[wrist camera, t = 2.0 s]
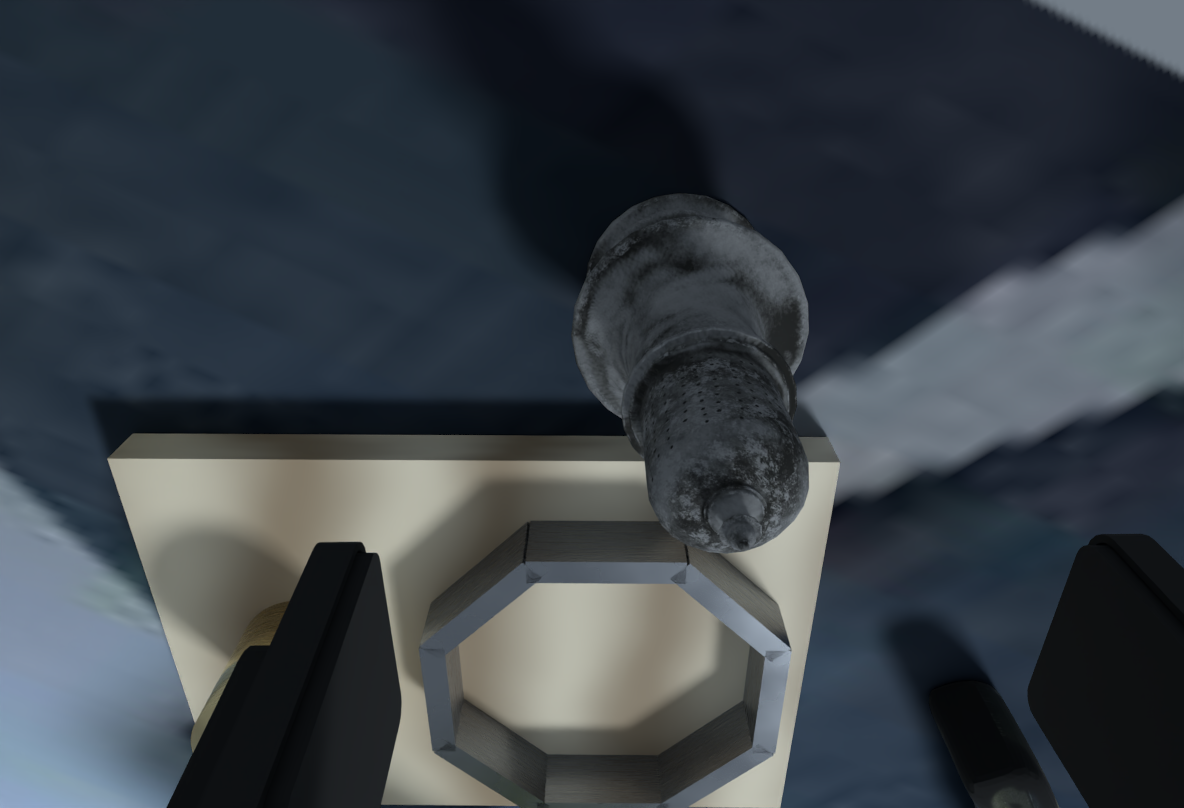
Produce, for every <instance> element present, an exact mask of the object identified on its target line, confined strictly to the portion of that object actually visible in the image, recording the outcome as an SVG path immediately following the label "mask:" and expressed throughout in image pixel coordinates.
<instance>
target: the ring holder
mask: <svg viewBox="0 0 1184 808" xmlns="http://www.w3.org/2000/svg"><path fill="white" fill-rule="evenodd" d="M535 583H598V584H677V585H678V586H679V587H680V588H682V589H683V590H684V591H685V592H686V593H688V594H689V595H690V596H691V597H692V598H694V599H695V600H696V601H697V602H699V603H700V604H701V605H702V606H703V607H705V608H706V609H707V610H708V611H709V612H711V613H712V614H713V615H714V616H715V617H717V618H718V619H719V620H720V621H722V622H723V623H724V624H725V625H726V626H728V627H729V628H730V629H731V630H732V631H734V632H735V633H736V634H737V635H739V636H740V637H741V638H742V639H743V640H745V641H746V642H747V643H748V644H749V645H750V649H749V657H748V664H747V672H746V680H745V688H744V696H743V701H741V702H740V703H738V704H737V705H735V706H733V707H732V708H730V709H729V710H727V711H726V712H724V713H723V714H721V715H719V716H718V717H716V718H715V719H713V720H712V721H710V722H709V723H707V724H705V725H704V726H702V727H701V728H699V729H698V730H696V731H695V732H693V733H691V734H690V735H688V736H687V737H685V738H684V739H682V740H681V741H679V742H677V743H676V744H674V745H673V746H671V747H670V748H668V749H667V750H665V751H663V752H662V753H660V754H659V755H565V754H546V753H545V752H543V751H542V750H540V749H539V748H537V747H536V746H534V745H533V744H531V743H530V742H528V741H527V740H525V739H524V738H522V737H521V736H519V735H518V734H516V733H515V732H513V731H512V730H510V729H509V728H507V727H506V726H504V725H503V724H501V723H500V722H498V721H497V720H495V719H494V718H492V717H491V716H489V715H488V714H486V713H485V712H483V711H482V710H480V709H479V708H477V707H476V706H474V705H473V704H471V703H470V702H468V701H467V700H466V699H464V693H463V683H462V673H461V663H460V654H459V644H460V643H461V642H463V641H464V640H465V639H466V638H468V637H469V636H470V635H471V634H473V633H474V632H475V631H476V630H478V629H479V628H480V627H481V626H483V625H484V624H485V623H486V622H488V621H489V620H490V619H491V618H493V617H494V616H495V615H496V614H498V613H499V612H500V611H501V610H503V609H504V608H505V607H507V606H508V605H509V604H510V603H512V602H513V601H514V600H515V599H517V598H518V597H519V596H520V595H522V594H523V593H524V592H525V591H527V590H528V589H529V588H530V587H532V586H533V585H534V584H535ZM791 653H792V650H791V646H790V643H789V639H788V636H787V632H786V629H785V626H784V622H783V619H782V615H781V612H780V608H779V605H778V604H777V603H776V602H775V601H774V600H773V599H771V598H770V597H769V596H768V595H767V594H766V593H765V592H763V591H762V590H761V589H760V588H759V587H758V586H756V585H755V584H754V583H753V582H752V581H751V580H750V579H748V578H747V577H746V576H745V575H744V574H743V573H741V572H740V571H739V570H738V569H737V568H736V567H735V566H733V565H732V564H731V563H730V562H729V561H728V560H726V559H725V558H724V557H723V556H722V555H721V554H720V553H714V552H707V551H704V550H700V549H697V548H694V547H691V546H688V545H686V544H684V543H682V542H681V541H679V540H677V539H676V538H674V537H673V536H671V535H670V534H669V532H668V531H667V530H666V529H665V528H664V527H663V526H662V525H661V524H660V522H659V521H530V523H529V522H526V523H525V524H524V525H523V526H522V527H520V528H519V529H518V530H517V531H516V532H515V533H513V534H512V535H511V536H510V537H509V538H507V539H506V540H505V541H504V542H503V543H501V544H500V545H499V546H498V547H497V548H495V549H494V550H493V551H492V552H491V553H489V554H488V555H487V556H486V557H485V558H483V559H482V560H481V561H480V562H479V563H478V564H476V565H475V566H474V567H473V568H472V569H470V570H469V571H468V572H467V573H466V574H464V575H463V576H462V577H461V578H460V579H458V580H457V581H456V582H455V583H454V584H452V585H451V586H450V587H449V588H448V589H446V590H445V591H444V592H443V593H442V594H441V595H439V596H438V597H437V598H436V599H435V600H433V601H432V602H431V604H430V608H429V612H428V615H427V619H426V623H425V627H424V630H423V634H422V638H421V642H420V646H419V655H420V662H421V670H422V677H423V684H424V692H425V699H426V707H427V714H428V722H429V729H430V737H431V744H432V751H434V753H435V754H436V755H438V756H439V757H441V758H443V759H444V760H446V761H447V762H449V763H451V764H452V765H454V766H455V767H457V768H459V769H460V770H462V771H463V772H465V773H467V774H468V775H470V776H471V777H473V778H474V779H476V780H478V781H479V782H481V783H482V784H484V785H486V786H487V787H489V788H490V789H492V790H494V791H495V792H497V793H498V794H500V795H502V796H503V797H505V798H506V799H508V800H509V801H511V802H513V803H514V804H516V805H517V806H519V807H521V808H687V807H689V806H691V805H692V804H694V803H696V802H697V801H699V800H701V799H702V798H704V797H706V796H707V795H709V794H710V793H712V792H714V791H715V790H717V789H719V788H720V787H722V786H724V785H725V784H727V783H729V782H730V781H732V780H734V779H735V778H737V777H739V776H740V775H742V774H744V773H745V772H747V771H749V770H750V769H752V768H754V767H755V766H757V765H759V764H760V763H762V762H764V761H765V760H767V759H768V758H770V757H772V756H773V755H774V754H773V753H775V752H776V746H777V739H778V733H779V727H780V721H781V715H782V709H783V702H784V696H785V690H786V684H787V678H788V671H789V665H790V659H791Z"/></svg>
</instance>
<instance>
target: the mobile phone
mask: <svg viewBox="0 0 1184 808" xmlns="http://www.w3.org/2000/svg"><path fill="white" fill-rule="evenodd" d="M929 706H930V709H931V713H932V715H933V718H934V720H935V722H936V724H937V726H938V728H939V730H940V733H941V735H942V737H943V739H944V741H945V743H946V746H947V748H948V750H949V752H950V755H951V757H952V759H953V762H954V764H955V766H956V769H957V771H958V773H959V775H960V777H961V780H962V782H963V784H964V786H965V788H966V790H967V791H968V793H969V795H970V797H971V798H972V800H973V802H974V804H975V808H1059V806H1058V803H1057V801H1056V799H1055V796H1054V794H1053V792H1052V790H1051V787H1050V785H1049V783H1048V781H1047V779H1046V776H1045V774H1044V772H1043V771H1042V769H1041V767H1040V765H1039V763H1038V761H1037V759H1036V757H1035V755H1034V754H1033V752H1032V750H1031V748H1030V746H1029V744H1028V743H1027V741H1026V739H1025V737H1024V735H1023V734H1022V732H1021V730H1020V728H1019V726H1018V725H1017V723H1016V721H1015V719H1014V718H1013V716H1012V714H1011V712H1010V711H1009V709H1008V707H1007V705H1006V704H1005V702H1004V700H1003V699H1002V697H1001V696H1000V694H999V693H998V692H997V691H996V689H995V688H993V687H992V686H990V685H988V684H985V683H982V682H978V681H961V682H955V683H951V684H947V685H944V686H941V687H938V688H936V689H934V690H932V691H931V694H930V696H929Z"/></svg>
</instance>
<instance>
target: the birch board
mask: <svg viewBox="0 0 1184 808" xmlns="http://www.w3.org/2000/svg"><path fill="white" fill-rule="evenodd" d="M799 439H800V441H801V443H802V446H803V448H804V451H805V454H806V457H807V459H808V462H809V491H808V494H807V497H806V501H805V504H804V506H803V508H802V509H801V511H800V513H799V514H798V516H797V517H796V519H795V520H794V521H793V522H792V523H791V524H790V525H789V526H788V527H787V528H786V529H785V530H784V531H783V532H782V533H781V534H779V535H778V536H777V537H776V538H774V539H772V540H770V541H769V542H767V543H765V544H764V545H762V546H759V547H756V548H753V549H750V550H747V551H744V552H736V553H728V554H726V553H720V554H721V555H722V556H723V557H724V558H725V559H726V560H728V561H729V562H730V563H731V564H732V565H733V566H735V567H736V568H737V569H738V570H739V571H740V572H741V573H743V574H744V575H745V576H746V577H747V578H748V579H750V580H751V581H752V582H753V583H754V584H755V585H756V586H758V587H759V588H760V589H761V590H762V591H763V592H765V593H766V594H767V595H768V596H769V597H770V598H771V599H773V600H774V601H775V602H776V603H777V604H778V605H779V608H780V612H781V615H782V619H783V622H784V626H785V629H786V632H787V636H788V639H789V643H790V646H791V650H792V653H791V659H790V665H789V671H788V678H787V684H786V690H785V696H784V702H783V709H782V715H781V721H780V727H779V733H778V739H777V746H776V752H775V753H773V754H774V755H773V756H772V757H770V758H768V759H767V760H765V761H764V762H762V763H760V764H759V765H757V766H755V767H754V768H752V769H750V770H749V771H747V772H745V773H744V774H742V775H740V776H739V777H737V778H735V779H734V780H732V781H730V782H729V783H727V784H725V785H724V786H722V787H720V788H719V789H717V790H715V791H714V792H712V793H710V794H709V795H707V796H706V797H704V798H702V799H701V800H699V801H697V802H696V803H694V804H692V805H691V806H689V807H757V808H780V806H781V800H782V794H783V788H784V783H785V777H786V771H787V765H788V760H789V754H790V748H791V742H792V737H793V731H794V725H795V719H796V714H797V708H798V702H799V696H800V691H801V685H802V679H803V674H804V668H805V662H806V656H807V651H808V645H809V639H810V633H811V628H812V622H813V616H814V610H815V605H816V599H817V593H818V587H819V582H820V576H821V570H822V564H823V559H824V553H825V547H826V541H827V536H828V530H829V524H830V518H831V513H832V507H833V501H834V495H835V490H836V484H837V478H838V472H839V467H840V461H839V459H838V457H837V455H836V453H835V451H834V449H833V447H832V445H831V443H830V441H829V439H828V437H799ZM107 459H108V462H109V465H110V468H111V471H112V474H113V477H114V480H115V483H116V486H117V489H118V492H119V495H120V498H121V501H122V504H123V507H124V510H125V513H126V516H127V519H128V522H129V525H130V529H131V532H132V535H133V538H134V541H135V544H136V547H137V550H138V553H139V556H140V559H141V562H142V565H143V568H144V571H145V574H146V577H147V580H148V583H149V586H150V589H151V592H152V595H153V598H154V601H155V604H156V607H157V610H158V613H159V616H160V619H161V622H162V625H163V628H164V631H165V634H166V637H167V640H168V643H169V646H170V649H171V652H172V655H173V658H174V661H175V665H176V668H177V671H178V674H179V677H180V680H181V683H182V686H183V689H184V692H185V695H186V698H187V701H188V704H189V707H190V710H191V713H192V716H193V719H194V722H195V723H196V721H197V719H198V717H199V715H200V713H201V711H202V709H203V708H204V706H205V704H206V702H207V700H208V698H209V696H210V695H211V693H212V691H213V689H214V687H215V685H216V683H217V682H218V680H219V678H220V676H221V674H222V672H223V670H224V669H225V667H226V665H227V663H228V661H229V659H230V657H231V656H232V654H233V652H234V650H235V648H236V646H237V644H238V643H239V641H240V639H241V637H242V635H243V633H244V631H245V629H246V628H247V626H248V624H249V623H250V621H251V620H252V619H253V618H254V617H255V616H256V615H257V614H259V613H260V612H261V611H263V610H265V609H266V608H268V607H271V606H273V605H275V604H279V603H282V602H287V601H290V599H291V597H292V595H293V593H294V590H295V588H296V586H297V584H298V581H299V579H300V577H301V575H302V573H303V570H304V568H305V566H306V564H307V561H308V559H309V557H310V555H311V552H312V550H313V548H314V547H315V545H316V544H317V543H319V542H362V543H363V545H364V547H365V550H366V553H378V555H379V558H380V562H381V569H382V575H383V582H384V588H385V594H386V601H387V607H388V613H389V620H390V626H391V633H392V639H393V645H394V652H395V658H396V665H397V671H398V677H399V684H400V690H401V699H402V707H401V719H400V725H399V729H398V733H397V738H396V742H395V746H394V751H393V755H392V759H391V764H390V768H389V772H388V777H387V781H386V785H385V790H384V794H383V798H382V803H381V805H481V806H517V805H516V804H514V803H513V802H511V801H509V800H508V799H506V798H505V797H503V796H502V795H500V794H498V793H497V792H495V791H494V790H492V789H490V788H489V787H487V786H486V785H484V784H482V783H481V782H479V781H478V780H476V779H474V778H473V777H471V776H470V775H468V774H467V773H465V772H463V771H462V770H460V769H459V768H457V767H455V766H454V765H452V764H451V763H449V762H447V761H446V760H444V759H443V758H441V757H439V756H438V755H436V754H435V753H434V751H432V744H431V737H430V729H429V722H428V714H427V707H426V699H425V692H424V684H423V677H422V670H421V662H420V655H419V646H420V642H421V638H422V634H423V630H424V627H425V623H426V619H427V615H428V612H429V608H430V604H431V602H432V601H433V600H435V599H436V598H437V597H438V596H439V595H441V594H442V593H443V592H444V591H445V590H446V589H448V588H449V587H450V586H451V585H452V584H454V583H455V582H456V581H457V580H458V579H460V578H461V577H462V576H463V575H464V574H466V573H467V572H468V571H469V570H470V569H472V568H473V567H474V566H475V565H476V564H478V563H479V562H480V561H481V560H482V559H483V558H485V557H486V556H487V555H488V554H489V553H491V552H492V551H493V550H494V549H495V548H497V547H498V546H499V545H500V544H501V543H503V542H504V541H505V540H506V539H507V538H509V537H510V536H511V535H512V534H513V533H515V532H516V531H517V530H518V529H519V528H520V527H522V526H523V525H524V524H525V523H526V522H529V523H530V521H659V520H658V518H657V516H656V514H655V512H654V510H653V508H652V506H651V504H650V502H649V498H648V490H647V482H646V471H645V461H644V459H643V458H642V457H641V456H640V455H639V454H638V452H637V451H636V450H635V449H634V448H633V447H632V445H631V443H630V441H629V439H628V437H627V436H526V435H332V434H138V433H133V434H132V435H131V436H130V437H129V438H128V439H127V440H126V441H125V442H124V443H123V444H122V445H121V446H120V447H119V448H118V449H117V450H116V451H115V452H114V453H113V454H111V455H110V456H109V457H108V458H107ZM749 649H750V645H749V644H748V643H747V642H746V641H745V640H743V639H742V638H741V637H740V636H739V635H737V634H736V633H735V632H734V631H732V630H731V629H730V628H729V627H728V626H726V625H725V624H724V623H723V622H722V621H720V620H719V619H718V618H717V617H715V616H714V615H713V614H712V613H711V612H709V611H708V610H707V609H706V608H705V607H703V606H702V605H701V604H700V603H699V602H697V601H696V600H695V599H694V598H692V597H691V596H690V595H689V594H688V593H686V592H685V591H684V590H683V589H682V588H680V587H679V586H678V585H677V584H598V583H535V584H534V585H533V586H532V587H530V588H529V589H528V590H527V591H525V592H524V593H523V594H522V595H520V596H519V597H518V598H517V599H515V600H514V601H513V602H512V603H510V604H509V605H508V606H507V607H505V608H504V609H503V610H501V611H500V612H499V613H498V614H496V615H495V616H494V617H493V618H491V619H490V620H489V621H488V622H486V623H485V624H484V625H483V626H481V627H480V628H479V629H478V630H476V631H475V632H474V633H473V634H471V635H470V636H469V637H468V638H466V639H465V640H464V641H463V642H461V643H460V644H459V654H460V663H461V673H462V683H463V693H464V699H466V700H467V701H468V702H470V703H471V704H473V705H474V706H476V707H477V708H479V709H480V710H482V711H483V712H485V713H486V714H488V715H489V716H491V717H492V718H494V719H495V720H497V721H498V722H500V723H501V724H503V725H504V726H506V727H507V728H509V729H510V730H512V731H513V732H515V733H516V734H518V735H519V736H521V737H522V738H524V739H525V740H527V741H528V742H530V743H531V744H533V745H534V746H536V747H537V748H539V749H540V750H542V751H543V752H545V753H546V754H565V755H659V754H660V753H662V752H663V751H665V750H667V749H668V748H670V747H671V746H673V745H674V744H676V743H677V742H679V741H681V740H682V739H684V738H685V737H687V736H688V735H690V734H691V733H693V732H695V731H696V730H698V729H699V728H701V727H702V726H704V725H705V724H707V723H709V722H710V721H712V720H713V719H715V718H716V717H718V716H719V715H721V714H723V713H724V712H726V711H727V710H729V709H730V708H732V707H733V706H735V705H737V704H738V703H740V702H741V701H743V696H744V688H745V680H746V672H747V664H748V657H749Z"/></svg>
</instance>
